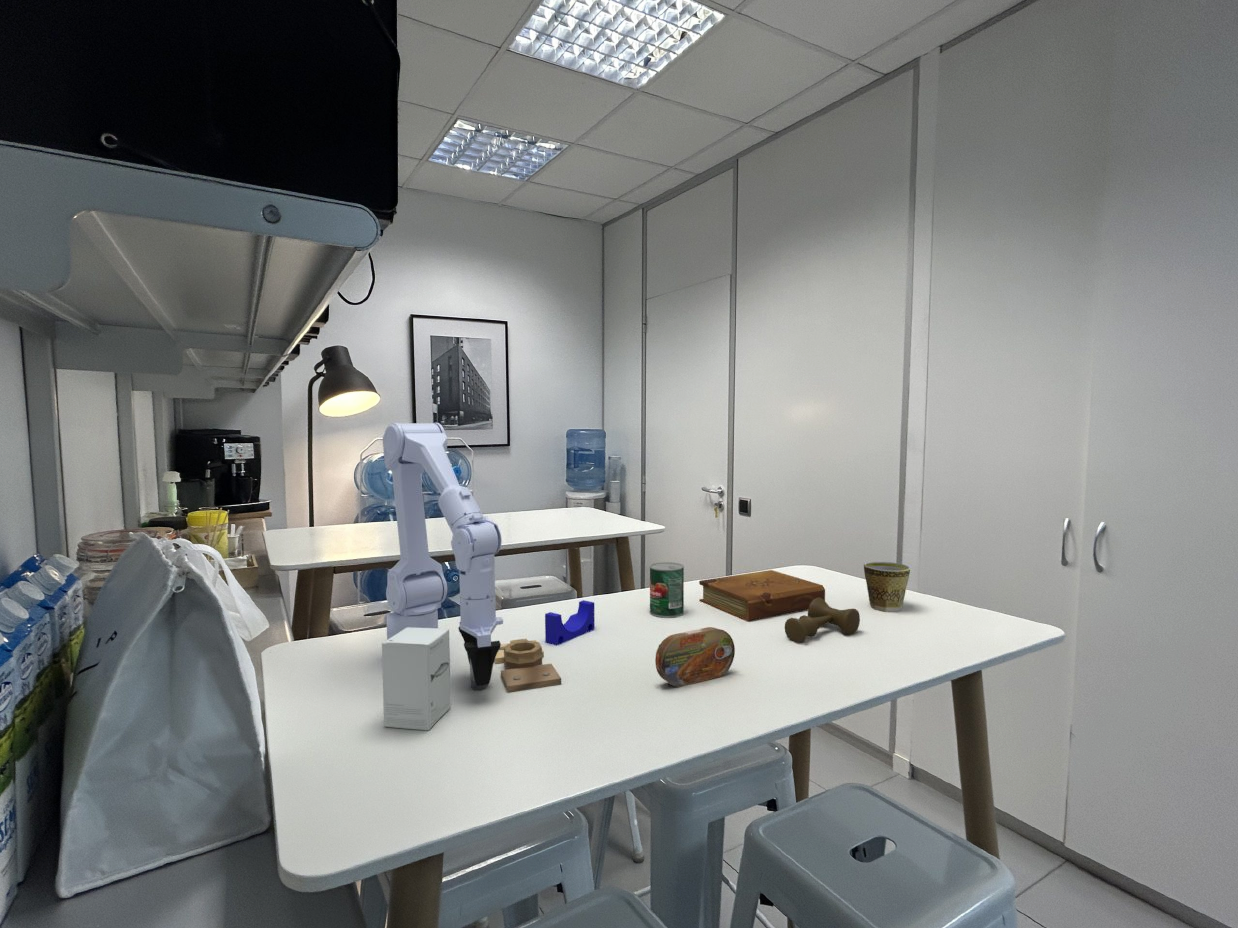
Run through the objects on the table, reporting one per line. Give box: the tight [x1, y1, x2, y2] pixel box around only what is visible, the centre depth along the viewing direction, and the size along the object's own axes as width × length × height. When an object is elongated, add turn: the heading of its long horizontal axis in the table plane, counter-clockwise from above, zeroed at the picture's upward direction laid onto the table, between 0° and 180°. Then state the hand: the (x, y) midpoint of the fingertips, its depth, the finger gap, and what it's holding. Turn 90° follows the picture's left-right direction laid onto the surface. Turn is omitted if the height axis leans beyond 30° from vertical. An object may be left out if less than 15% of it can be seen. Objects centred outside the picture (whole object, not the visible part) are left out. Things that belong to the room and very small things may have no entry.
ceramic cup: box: [863, 561, 911, 613], centre depth 147 cm, size 13×10×10 cm
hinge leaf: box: [494, 638, 545, 665], centre depth 115 cm, size 9×13×4 cm
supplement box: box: [381, 627, 452, 731], centre depth 92 cm, size 7×7×13 cm
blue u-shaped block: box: [544, 599, 596, 646], centre depth 129 cm, size 12×4×6 cm, turn 143°
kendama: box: [784, 598, 861, 644], centre depth 129 cm, size 6×10×20 cm
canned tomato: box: [649, 561, 685, 619], centre depth 143 cm, size 8×8×11 cm
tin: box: [654, 626, 736, 688], centre depth 106 cm, size 15×3×8 cm, turn 117°
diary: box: [698, 569, 826, 623], centre depth 150 cm, size 23×19×6 cm
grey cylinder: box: [469, 660, 490, 691], centre depth 103 cm, size 3×3×6 cm
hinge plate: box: [500, 657, 562, 693], centre depth 109 cm, size 9×13×2 cm
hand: (479, 675), depth 103 cm, fingers open, 7 cm apart
